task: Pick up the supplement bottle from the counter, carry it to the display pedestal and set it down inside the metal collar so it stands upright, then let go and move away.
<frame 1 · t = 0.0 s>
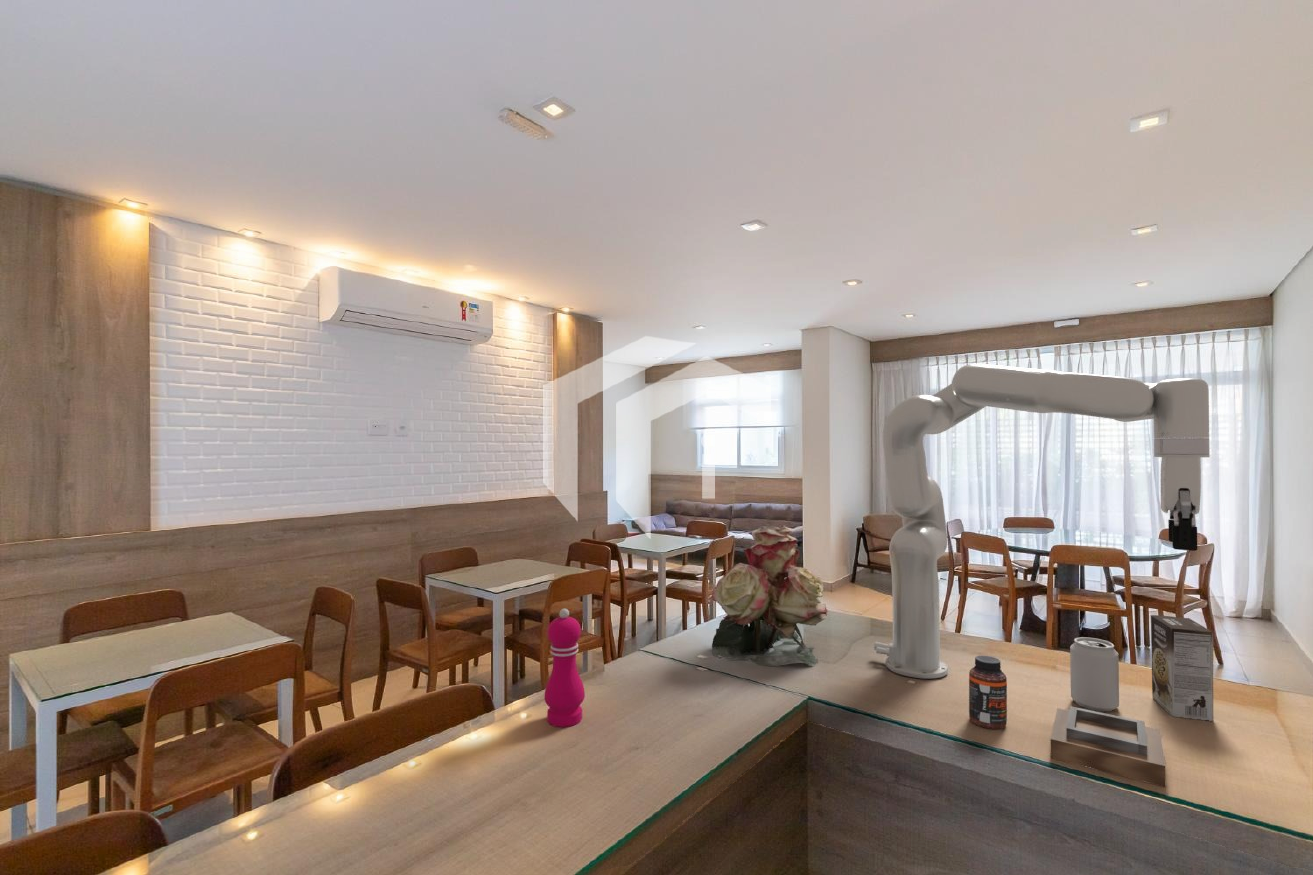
hand: (1182, 545, 110), 31 cm above the worktop, tool pointing down, fingers open, 9 cm apart
rose bouquet: (772, 651, 149), on the worktop
pepper mill: (564, 720, 112), on the worktop
supplement bottle: (987, 723, 110), on the worktop
can: (1094, 705, 117), on the worktop
coffee box: (1181, 710, 115), on the worktop
display pedestal: (1106, 752, 99), on the worktop
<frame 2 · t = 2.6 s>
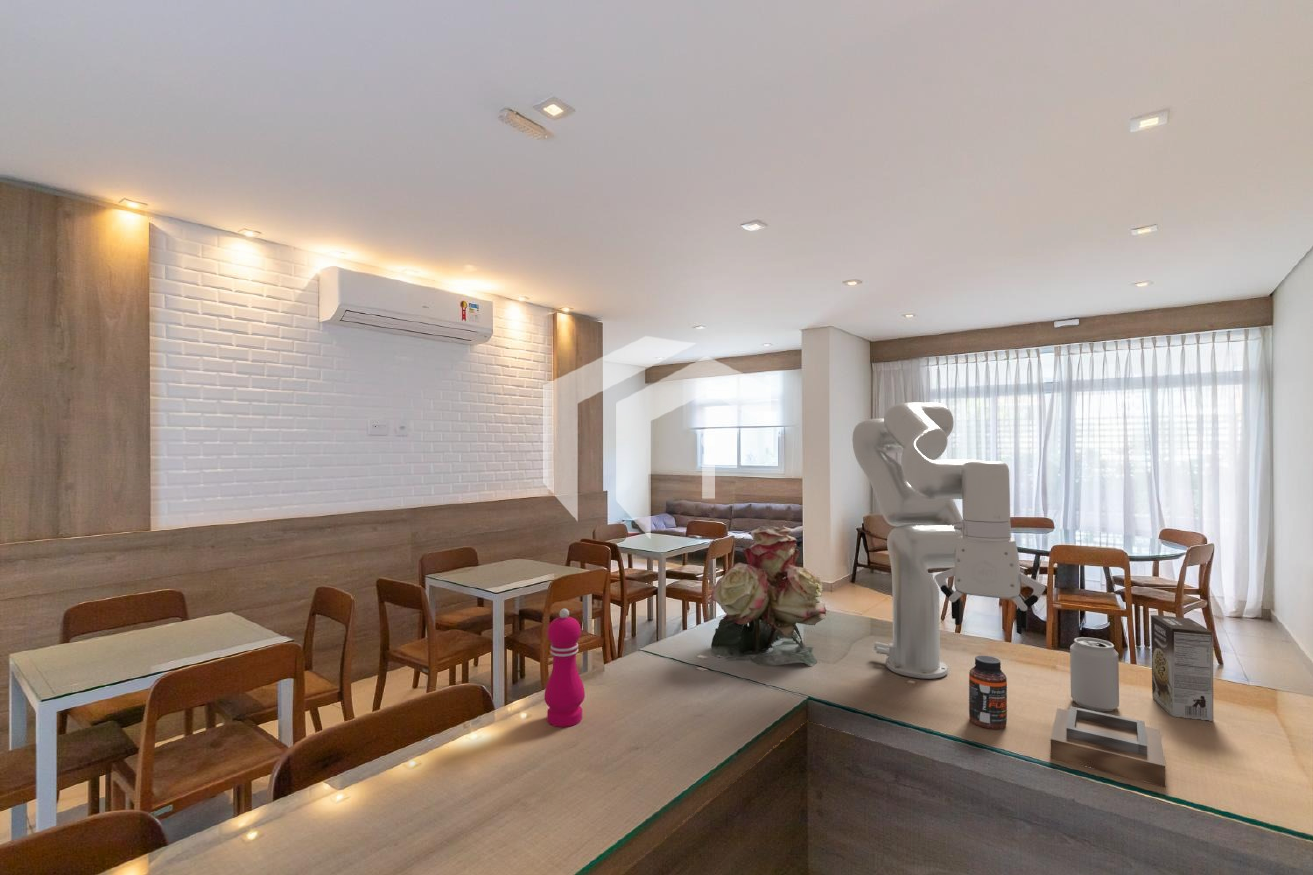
hand: (988, 627, 110), 17 cm above the worktop, tool pointing down, fingers open, 9 cm apart
nothing on the worktop moved.
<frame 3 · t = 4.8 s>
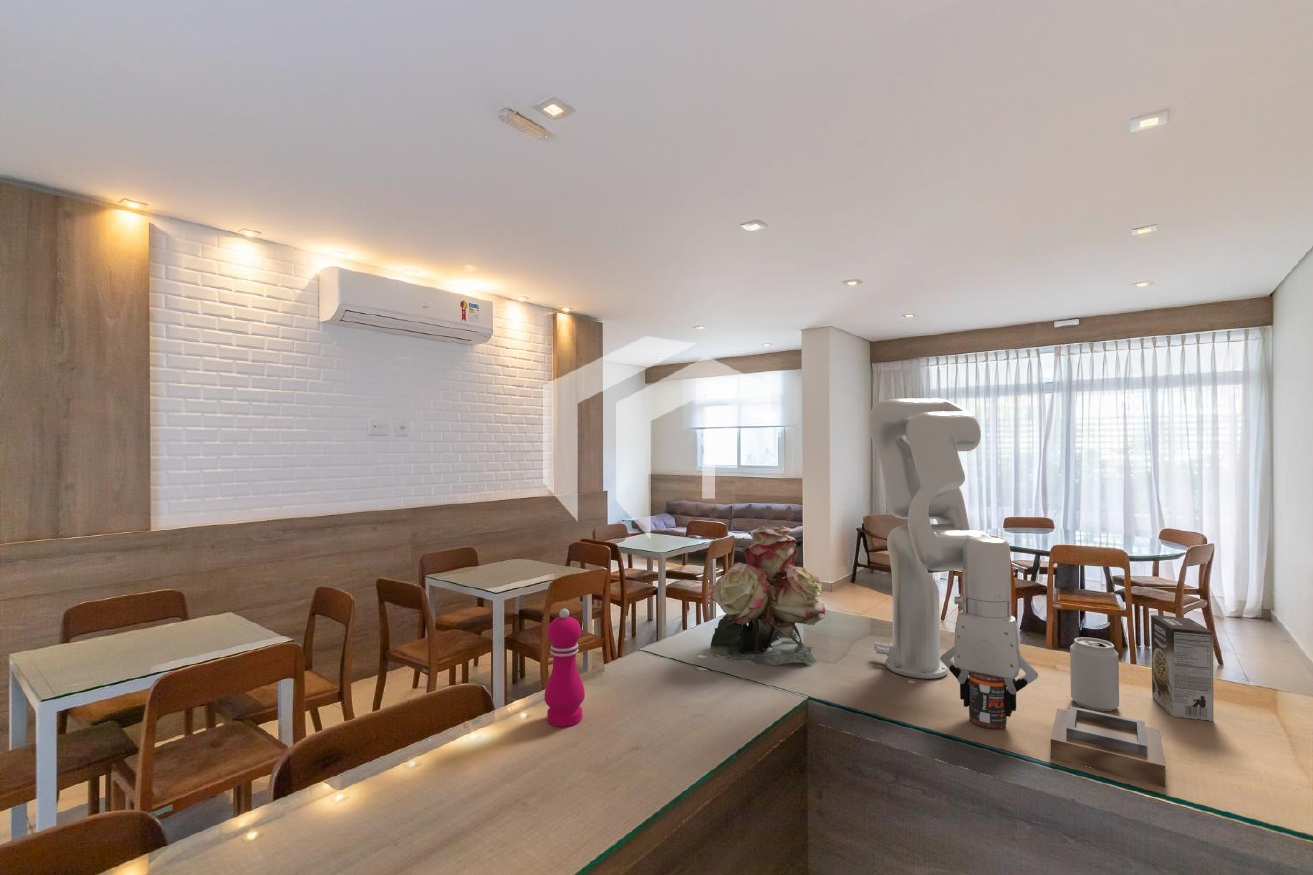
hand: (987, 707, 110), 3 cm above the worktop, tool pointing down, fingers closed on supplement bottle, 6 cm apart
supplement bottle: (987, 723, 110), on the worktop, touching gripper
everything else where it was.
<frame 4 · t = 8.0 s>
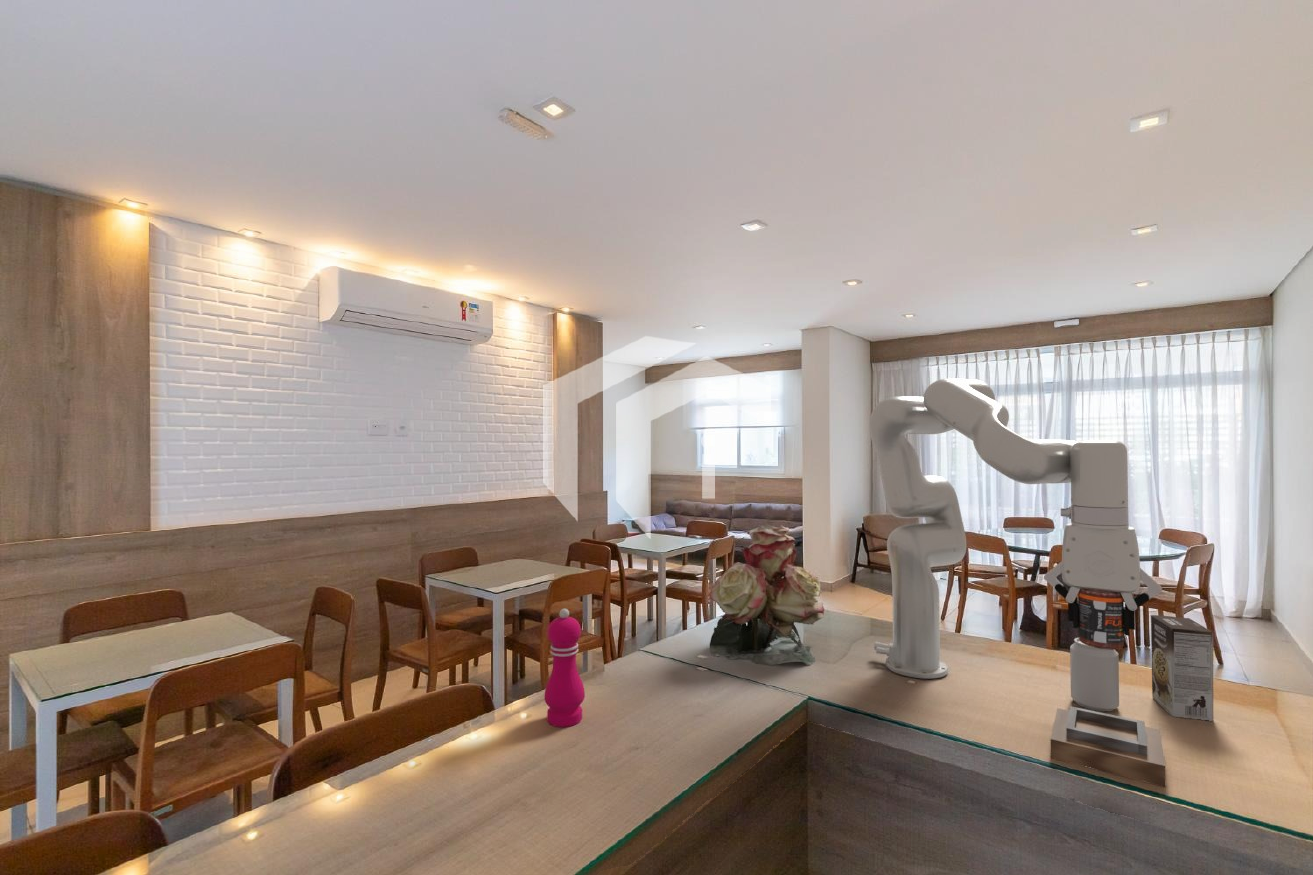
hand: (1101, 628, 99), 20 cm above the worktop, tool pointing down, fingers closed on supplement bottle, 5 cm apart
supplement bottle: (1101, 646, 99), point 17 cm above the worktop, touching gripper
everything else where it was.
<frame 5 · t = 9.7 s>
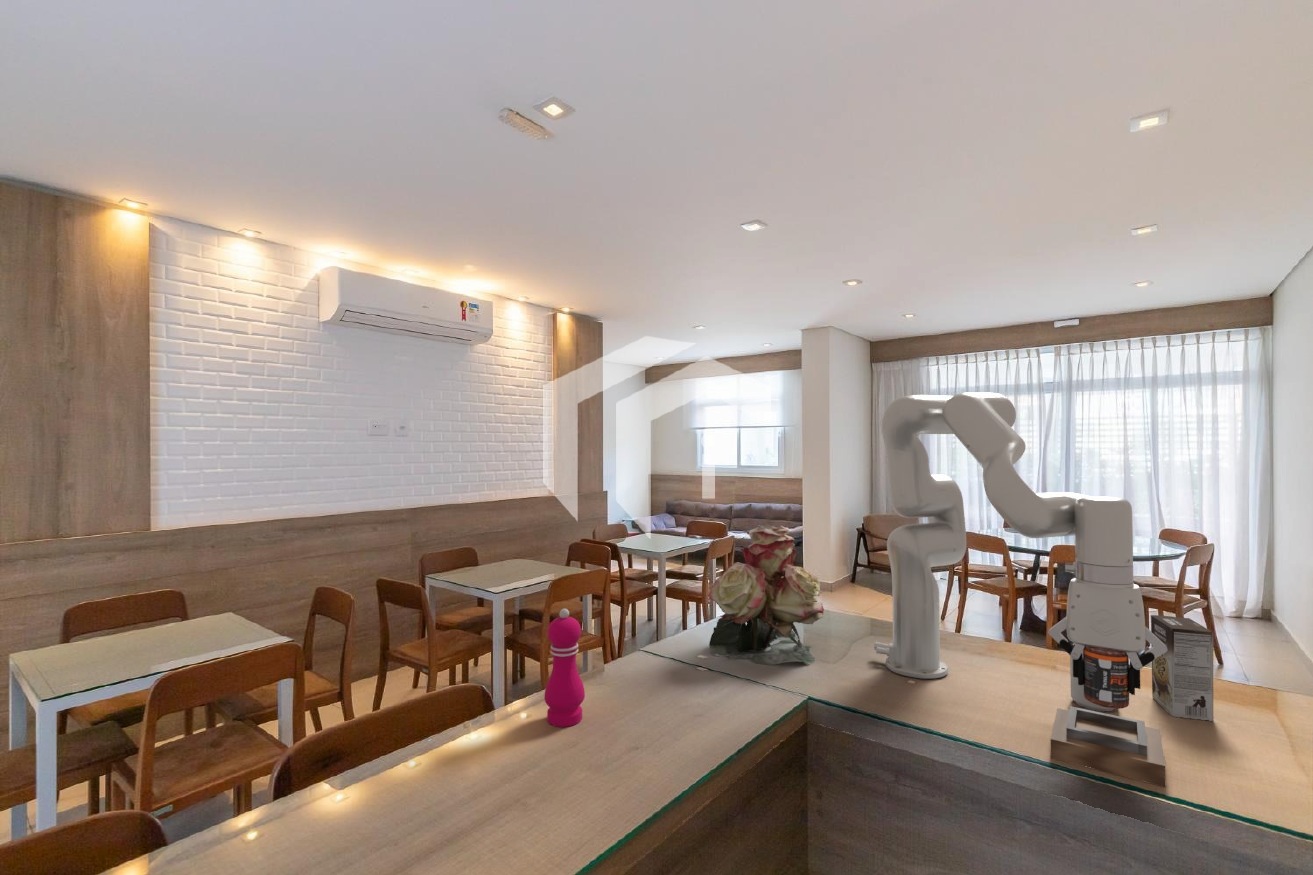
hand: (1106, 686, 99), 11 cm above the worktop, tool pointing down, fingers closed on supplement bottle, 5 cm apart
supplement bottle: (1106, 703, 99), point 8 cm above the worktop, touching gripper
when the fingers open (6 cm above the worktop, at t = 11.4 s): supplement bottle stays where it is, resting on display pedestal.
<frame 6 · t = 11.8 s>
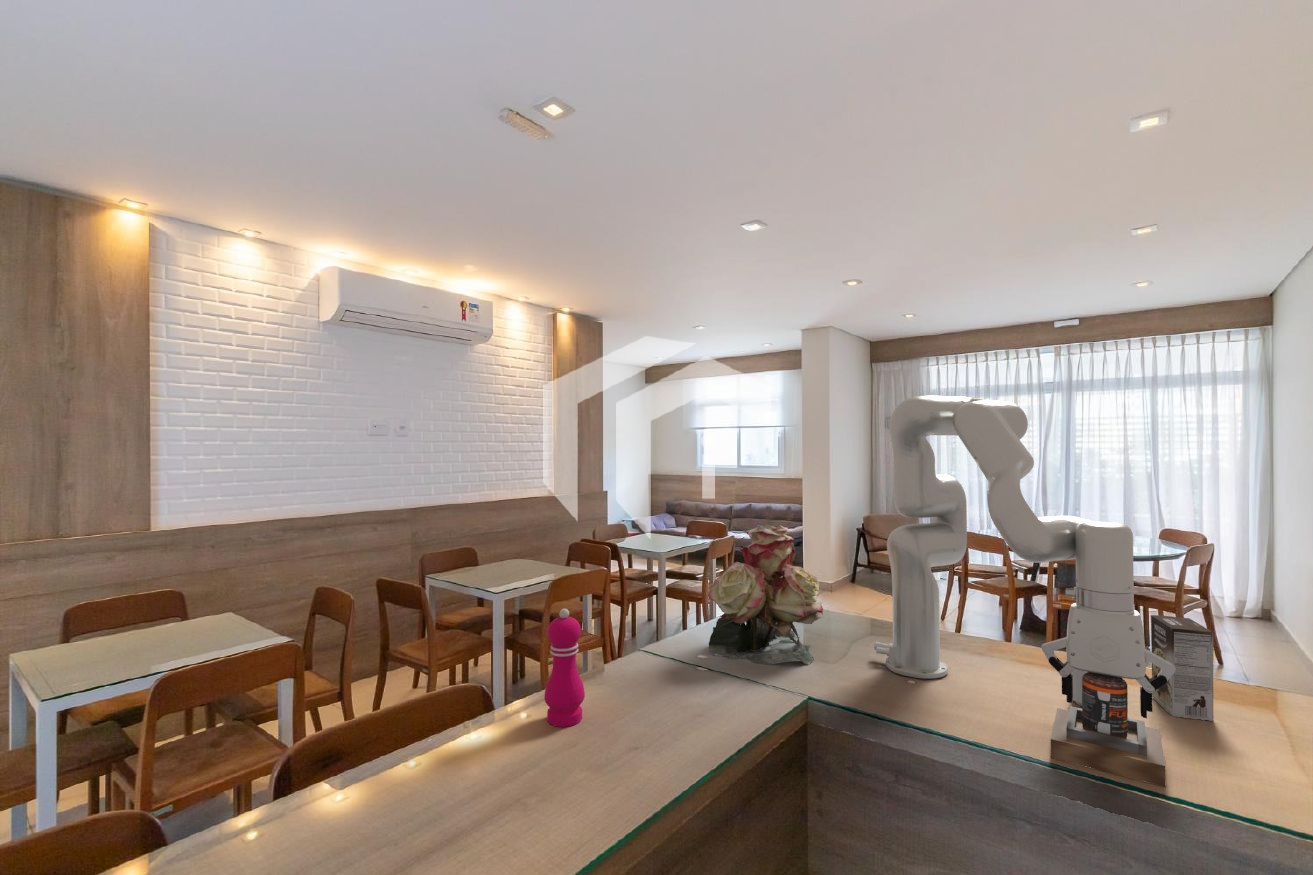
hand: (1105, 707, 99), 7 cm above the worktop, tool pointing down, fingers open, 9 cm apart
supplement bottle: (1104, 734, 99), point 3 cm above the worktop, touching display pedestal
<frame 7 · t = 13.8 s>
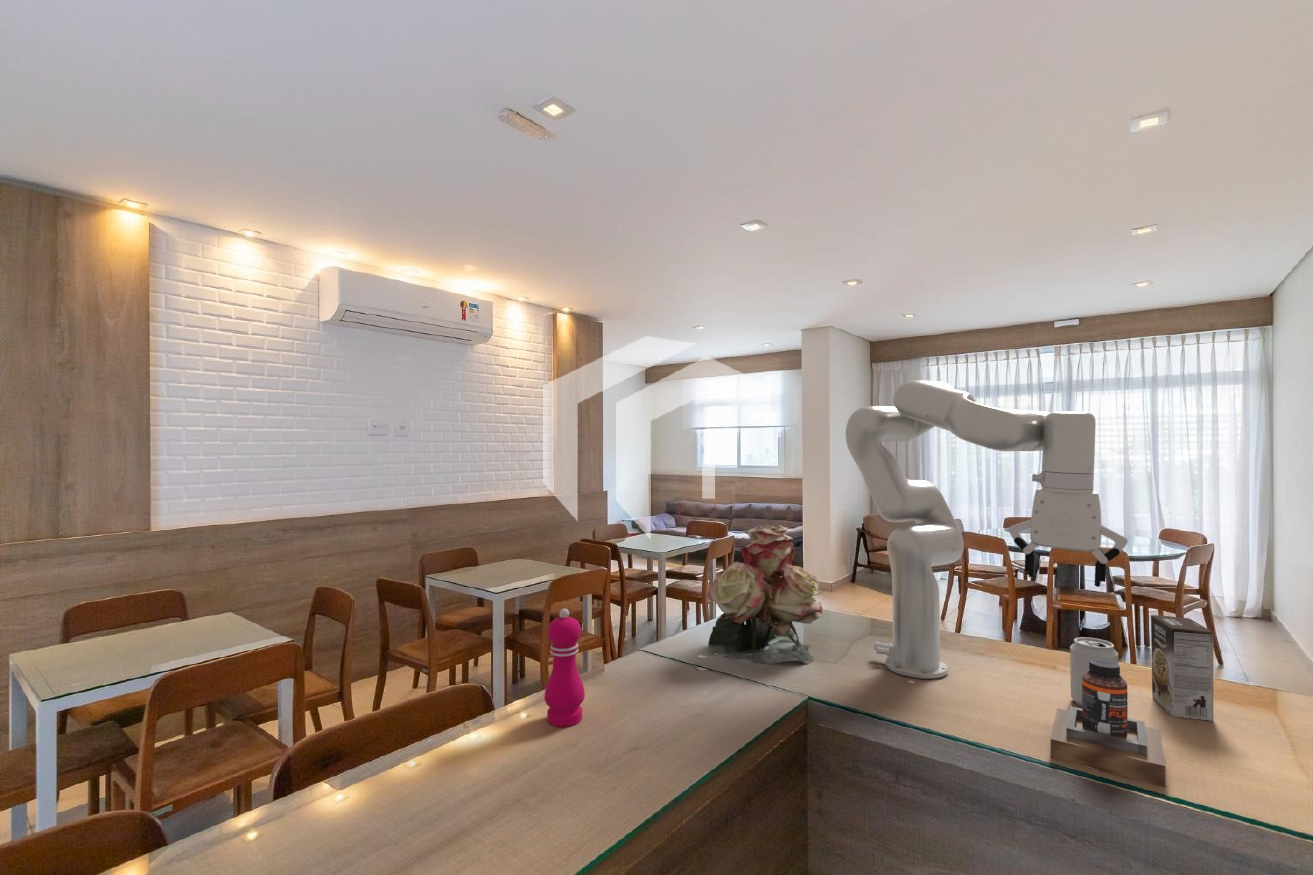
hand: (1063, 580, 108), 26 cm above the worktop, tool pointing down, fingers open, 9 cm apart
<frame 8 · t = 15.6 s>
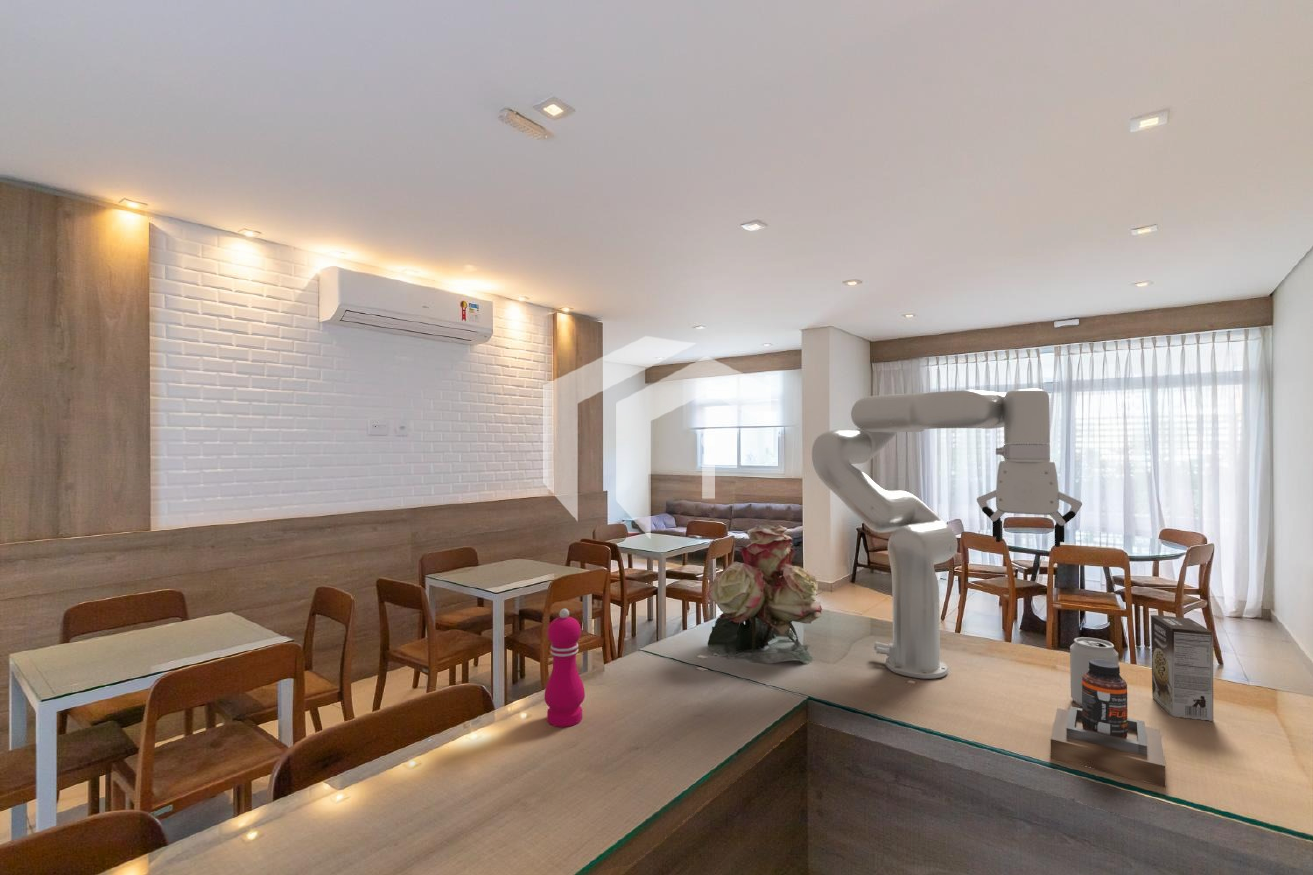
hand: (1027, 543, 119), 30 cm above the worktop, tool pointing down, fingers open, 9 cm apart
at the end: supplement bottle 0.2 cm off-centre on the display pedestal, point 2.8 cm above the display pedestal's base; supplement bottle tilted 0°; the gripper is holding nothing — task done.
